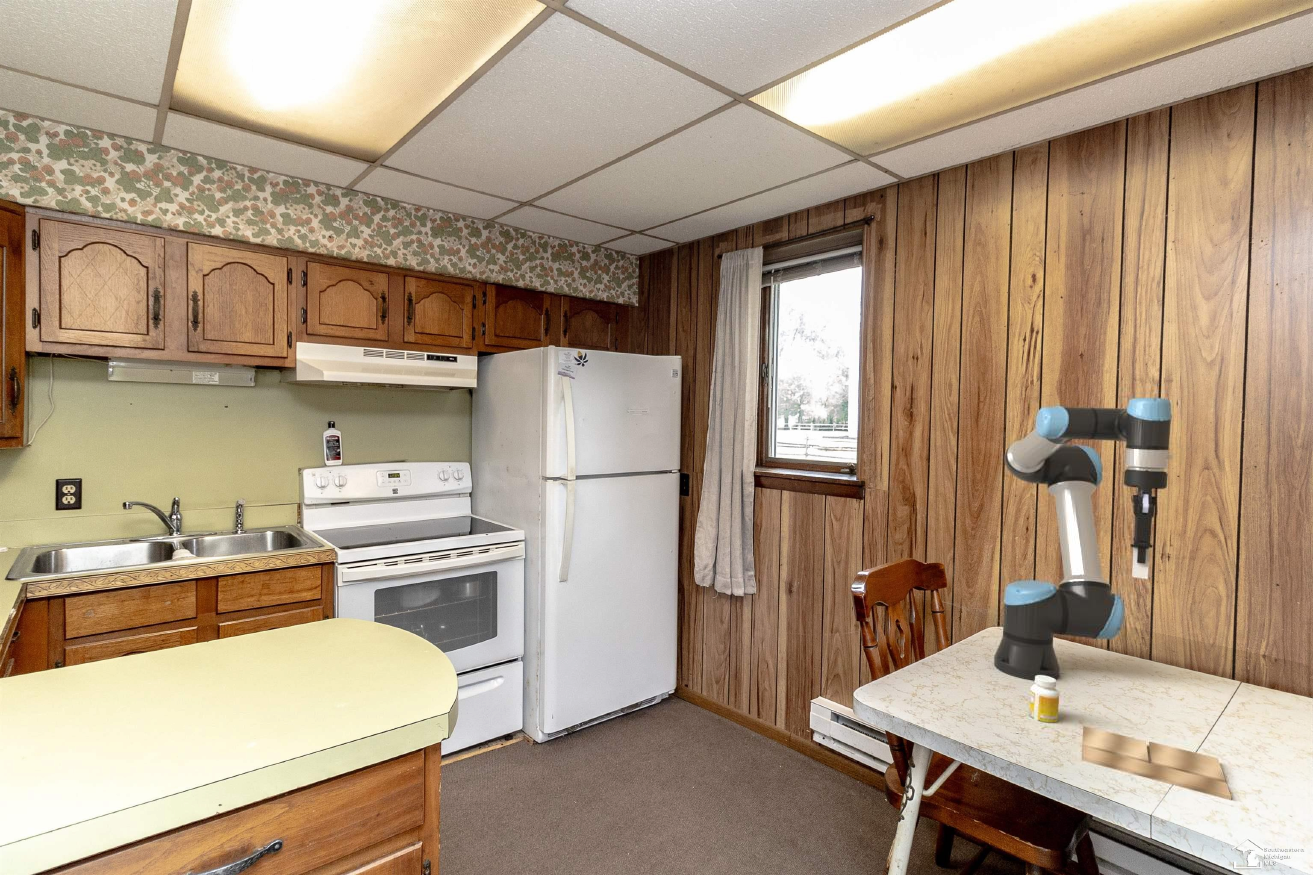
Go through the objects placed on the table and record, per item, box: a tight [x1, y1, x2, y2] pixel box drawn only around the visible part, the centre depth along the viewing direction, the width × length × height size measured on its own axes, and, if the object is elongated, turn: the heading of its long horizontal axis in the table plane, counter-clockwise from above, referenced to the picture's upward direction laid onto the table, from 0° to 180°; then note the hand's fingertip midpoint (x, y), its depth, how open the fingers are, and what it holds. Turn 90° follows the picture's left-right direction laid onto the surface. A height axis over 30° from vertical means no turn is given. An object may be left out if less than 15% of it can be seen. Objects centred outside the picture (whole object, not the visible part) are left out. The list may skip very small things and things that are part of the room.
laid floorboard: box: [1081, 745, 1232, 801], centre depth 121 cm, size 22×5×1 cm, turn 56°
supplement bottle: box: [1028, 675, 1060, 724], centre depth 143 cm, size 5×5×10 cm
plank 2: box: [1148, 741, 1226, 783], centre depth 124 cm, size 10×9×1 cm
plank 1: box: [1081, 725, 1150, 763], centre depth 130 cm, size 10×9×1 cm
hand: (1139, 577), depth 143 cm, fingers closed
